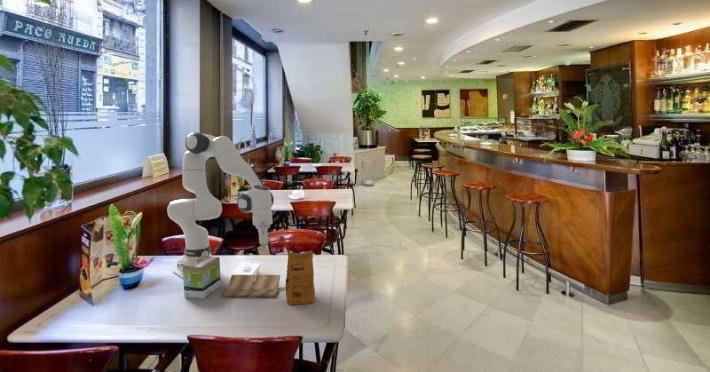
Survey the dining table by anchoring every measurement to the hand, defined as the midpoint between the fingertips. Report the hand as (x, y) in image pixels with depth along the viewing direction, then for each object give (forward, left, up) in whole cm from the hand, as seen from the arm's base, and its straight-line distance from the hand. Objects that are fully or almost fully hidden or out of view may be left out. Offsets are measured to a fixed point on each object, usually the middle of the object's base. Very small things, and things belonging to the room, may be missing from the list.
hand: (263, 249), depth 196 cm
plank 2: (+2, -1, -16) cm, 16 cm away
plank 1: (-8, -8, -16) cm, 19 cm away
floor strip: (+2, -11, -18) cm, 21 cm away
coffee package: (+25, -3, -18) cm, 31 cm away
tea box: (-19, -21, -18) cm, 33 cm away
